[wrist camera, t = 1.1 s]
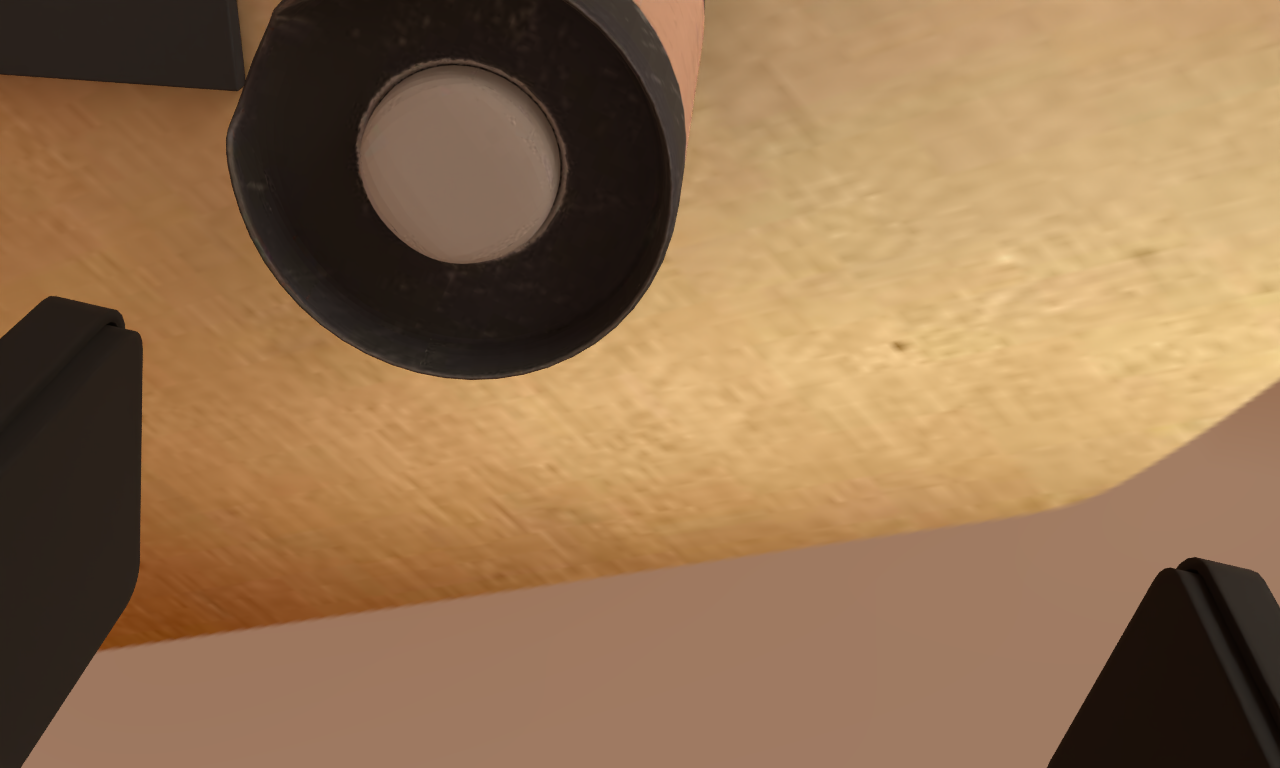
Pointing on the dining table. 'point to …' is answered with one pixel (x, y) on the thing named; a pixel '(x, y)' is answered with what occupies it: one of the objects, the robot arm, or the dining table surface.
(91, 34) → the mat
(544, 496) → the dining table surface
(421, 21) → the travel mug
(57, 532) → the robot arm
